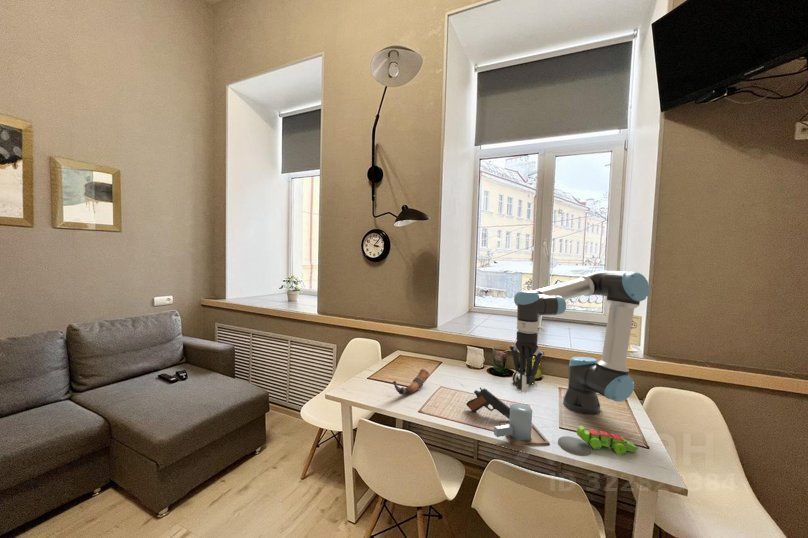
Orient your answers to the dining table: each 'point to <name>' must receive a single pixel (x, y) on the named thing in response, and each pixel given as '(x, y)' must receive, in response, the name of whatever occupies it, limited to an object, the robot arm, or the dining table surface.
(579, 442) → the disc
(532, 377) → the camera
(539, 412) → the dining table surface
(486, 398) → the handgun
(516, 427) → the grey l-shaped block
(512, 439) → the brown square tray
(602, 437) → the toy crocodile
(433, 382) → the dining table surface
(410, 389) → the drinking horn
